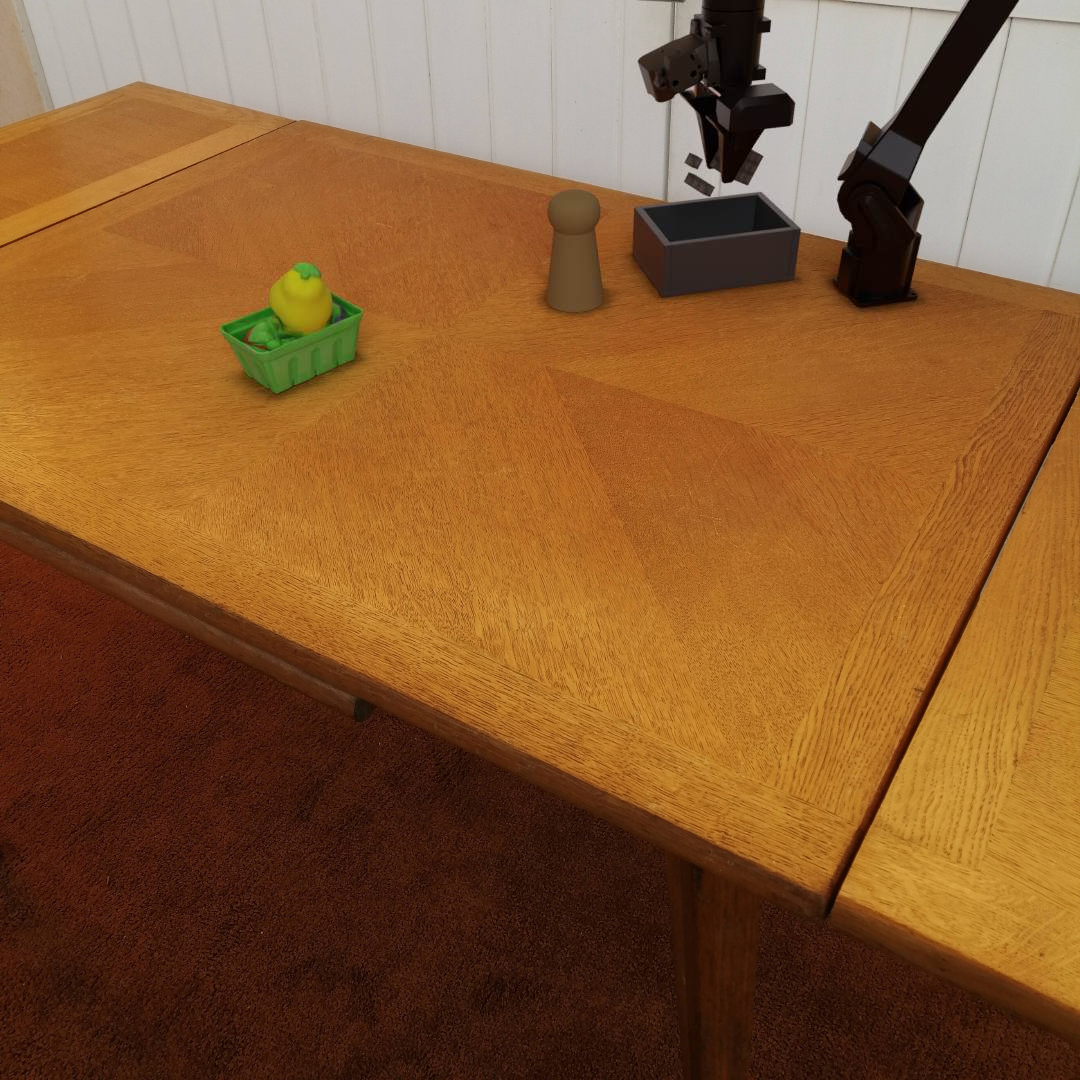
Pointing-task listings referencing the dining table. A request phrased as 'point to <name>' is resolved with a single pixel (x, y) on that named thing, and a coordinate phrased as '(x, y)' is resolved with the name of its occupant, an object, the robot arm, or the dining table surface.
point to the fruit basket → (295, 331)
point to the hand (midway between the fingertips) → (719, 175)
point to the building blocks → (706, 188)
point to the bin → (714, 243)
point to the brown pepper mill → (574, 252)
